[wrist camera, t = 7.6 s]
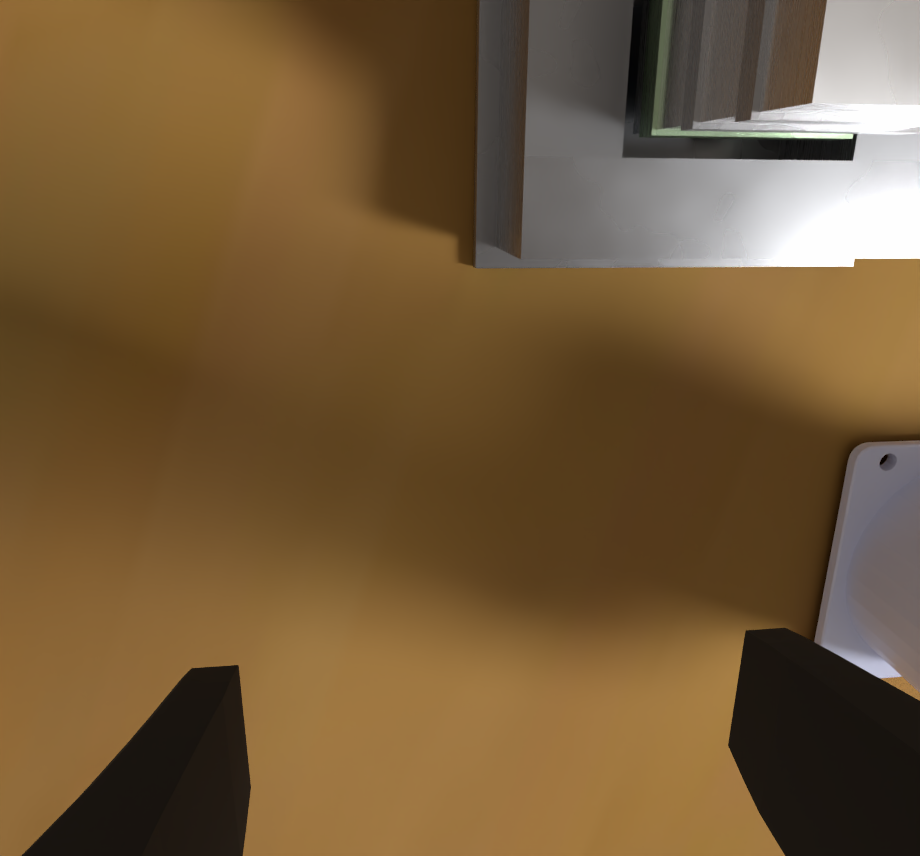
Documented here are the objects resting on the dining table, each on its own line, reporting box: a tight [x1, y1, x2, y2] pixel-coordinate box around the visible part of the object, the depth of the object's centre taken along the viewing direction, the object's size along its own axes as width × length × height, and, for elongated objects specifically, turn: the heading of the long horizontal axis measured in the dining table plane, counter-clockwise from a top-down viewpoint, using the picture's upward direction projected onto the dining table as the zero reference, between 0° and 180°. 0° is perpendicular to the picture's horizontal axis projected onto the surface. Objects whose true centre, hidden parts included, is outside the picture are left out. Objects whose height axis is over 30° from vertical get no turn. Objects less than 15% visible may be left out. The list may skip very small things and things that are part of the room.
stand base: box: [473, 0, 920, 268], centre depth 16 cm, size 10×10×4 cm
